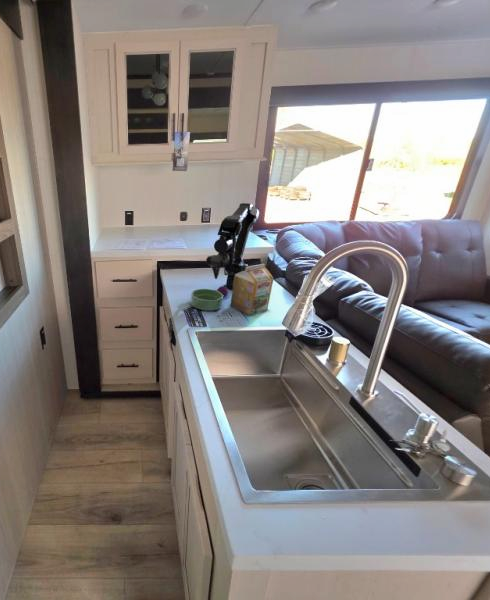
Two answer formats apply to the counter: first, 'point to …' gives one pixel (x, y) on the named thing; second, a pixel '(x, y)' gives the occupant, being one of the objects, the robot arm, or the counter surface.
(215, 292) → the bowl
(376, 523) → the counter surface
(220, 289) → the ball
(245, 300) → the milk carton
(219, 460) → the counter surface
